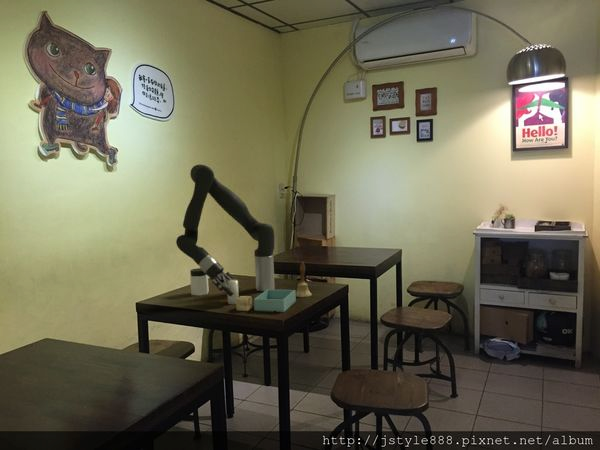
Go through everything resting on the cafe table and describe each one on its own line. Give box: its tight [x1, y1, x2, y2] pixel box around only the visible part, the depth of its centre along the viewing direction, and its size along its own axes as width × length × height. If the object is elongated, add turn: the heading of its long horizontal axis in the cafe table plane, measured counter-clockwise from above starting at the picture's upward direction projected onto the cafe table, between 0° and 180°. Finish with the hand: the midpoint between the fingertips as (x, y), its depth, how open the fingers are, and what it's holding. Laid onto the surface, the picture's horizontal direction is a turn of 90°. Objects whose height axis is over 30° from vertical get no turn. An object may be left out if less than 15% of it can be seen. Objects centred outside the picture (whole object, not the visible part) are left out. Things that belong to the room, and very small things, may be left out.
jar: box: [189, 267, 210, 296], centre depth 234 cm, size 9×8×12 cm
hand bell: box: [295, 261, 313, 298], centre depth 222 cm, size 8×8×16 cm
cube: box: [235, 295, 253, 312], centre depth 203 cm, size 5×5×5 cm
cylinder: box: [226, 279, 240, 305], centre depth 214 cm, size 5×5×10 cm
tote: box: [253, 289, 297, 313], centre depth 206 cm, size 17×13×5 cm
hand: (235, 292), depth 214 cm, fingers open, 7 cm apart
